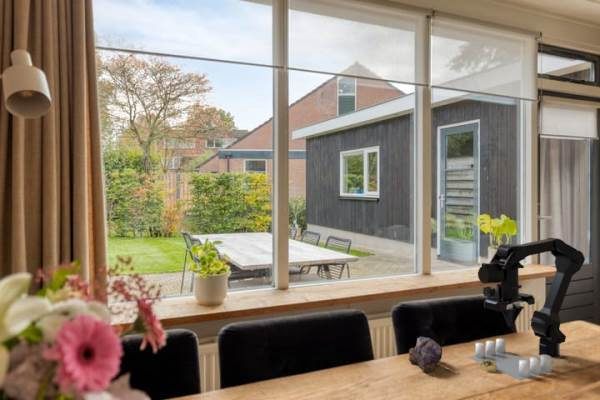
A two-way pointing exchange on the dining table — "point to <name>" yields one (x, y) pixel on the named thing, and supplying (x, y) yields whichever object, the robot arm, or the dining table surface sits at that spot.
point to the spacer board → (512, 360)
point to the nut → (488, 366)
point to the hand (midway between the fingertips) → (510, 326)
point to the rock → (425, 354)
